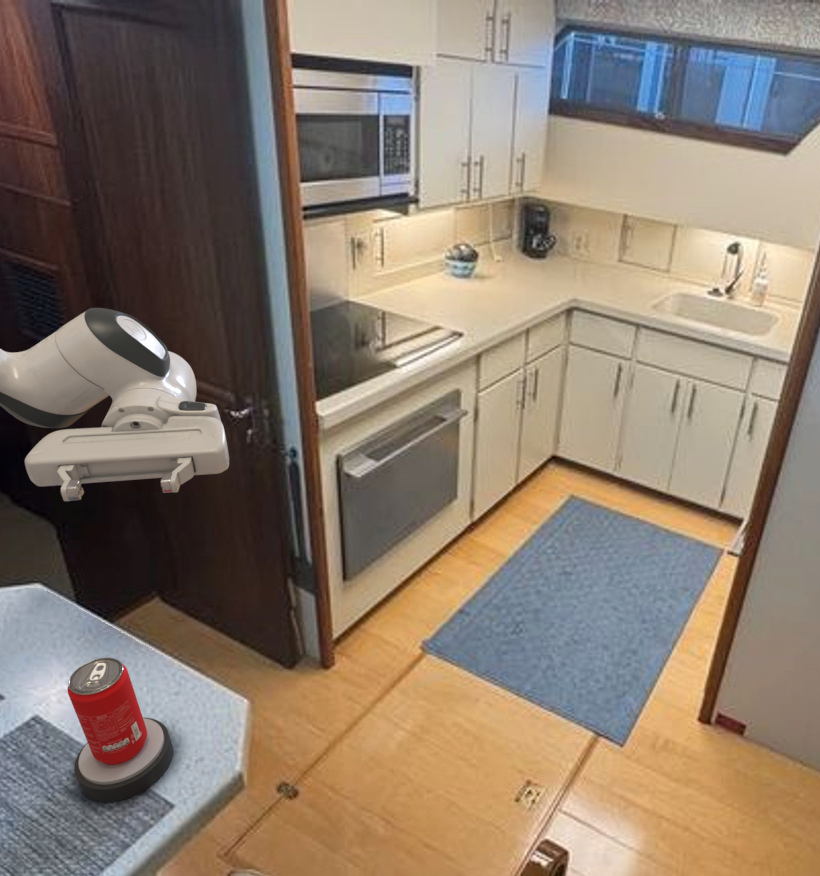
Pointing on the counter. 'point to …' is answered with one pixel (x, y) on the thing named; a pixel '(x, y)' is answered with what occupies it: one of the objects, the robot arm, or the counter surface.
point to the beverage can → (108, 710)
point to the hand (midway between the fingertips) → (120, 491)
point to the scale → (126, 768)
